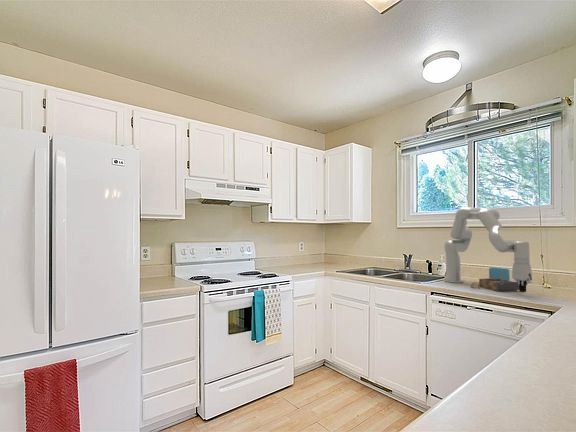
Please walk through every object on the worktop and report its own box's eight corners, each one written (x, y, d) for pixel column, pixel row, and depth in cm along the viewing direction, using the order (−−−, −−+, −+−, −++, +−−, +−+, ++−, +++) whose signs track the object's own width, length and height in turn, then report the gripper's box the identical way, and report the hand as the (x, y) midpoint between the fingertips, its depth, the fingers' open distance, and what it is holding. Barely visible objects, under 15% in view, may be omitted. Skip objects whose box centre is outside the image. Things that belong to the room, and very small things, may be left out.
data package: (509, 284, 222) (509, 268, 222) (509, 285, 218) (508, 268, 219) (489, 283, 229) (489, 266, 230) (489, 283, 226) (488, 267, 226)
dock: (517, 290, 200) (516, 282, 200) (497, 291, 199) (496, 282, 199) (498, 286, 216) (497, 278, 216) (479, 286, 215) (479, 278, 215)
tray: (519, 289, 199) (519, 282, 199) (498, 290, 197) (498, 282, 197) (500, 285, 215) (499, 277, 215) (480, 285, 213) (479, 278, 214)
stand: (469, 287, 212) (469, 282, 212) (476, 287, 213) (475, 282, 213) (474, 288, 208) (474, 283, 208) (481, 288, 208) (480, 283, 208)
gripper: (506, 260, 196) (507, 289, 195) (526, 262, 181) (527, 294, 180) (517, 260, 196) (518, 289, 196) (538, 262, 182) (539, 294, 181)
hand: (522, 291), depth 188 cm, fingers closed
